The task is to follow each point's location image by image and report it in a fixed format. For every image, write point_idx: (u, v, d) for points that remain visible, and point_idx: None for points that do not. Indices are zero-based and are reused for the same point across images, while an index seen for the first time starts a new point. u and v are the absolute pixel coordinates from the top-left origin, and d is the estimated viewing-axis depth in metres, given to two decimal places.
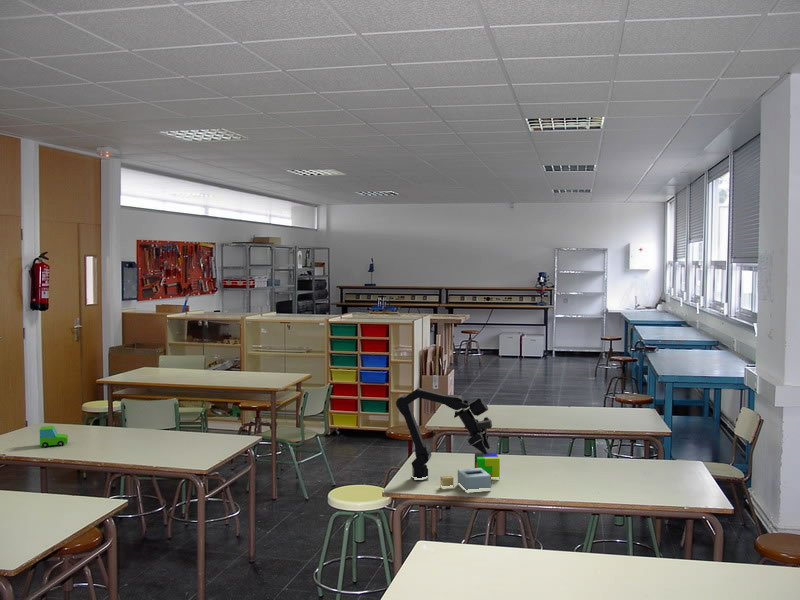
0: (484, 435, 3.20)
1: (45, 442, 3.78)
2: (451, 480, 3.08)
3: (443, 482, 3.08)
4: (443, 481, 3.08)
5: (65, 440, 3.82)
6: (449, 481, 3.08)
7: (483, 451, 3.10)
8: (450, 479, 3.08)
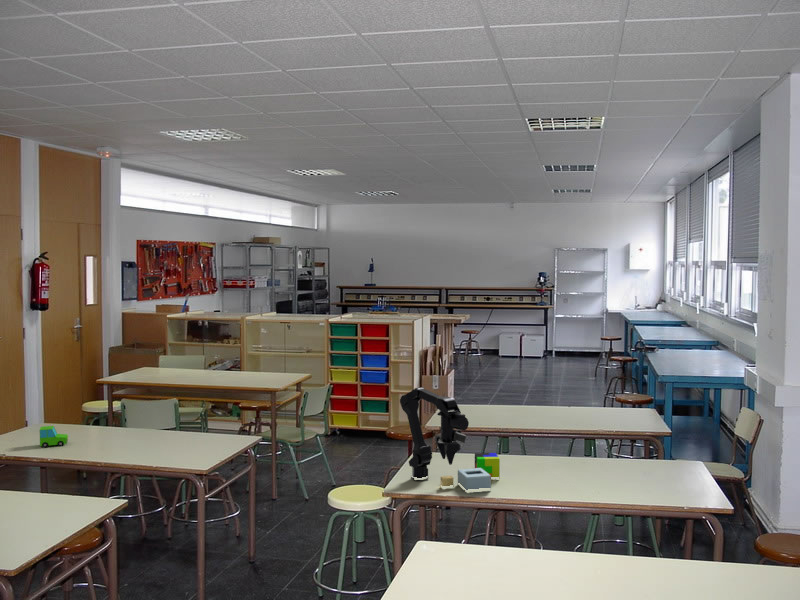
0: None
1: (45, 442, 3.78)
2: (451, 480, 3.08)
3: (443, 482, 3.08)
4: (443, 481, 3.08)
5: (65, 440, 3.82)
6: (449, 481, 3.08)
7: (450, 461, 3.04)
8: (450, 479, 3.08)
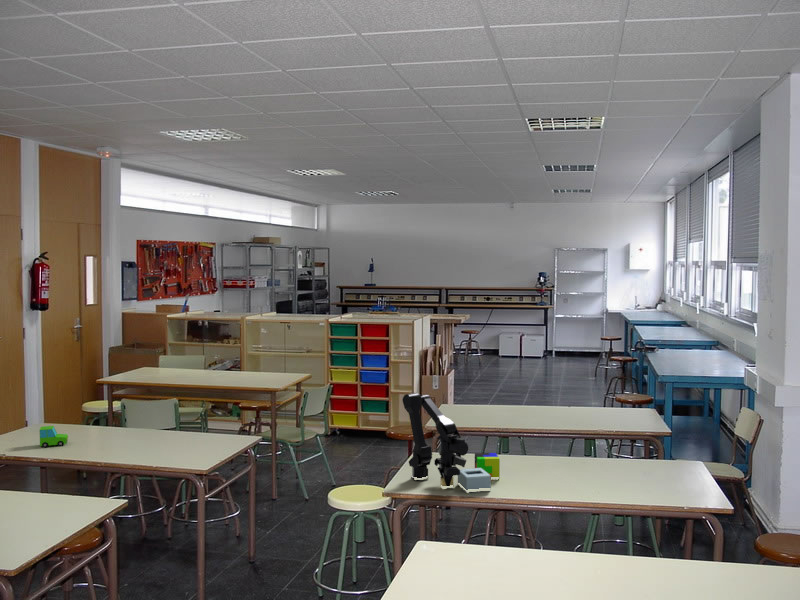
0: None
1: (45, 442, 3.78)
2: (451, 480, 3.08)
3: (443, 482, 3.08)
4: (443, 481, 3.08)
5: (65, 440, 3.82)
6: None
7: (447, 483, 3.07)
8: None
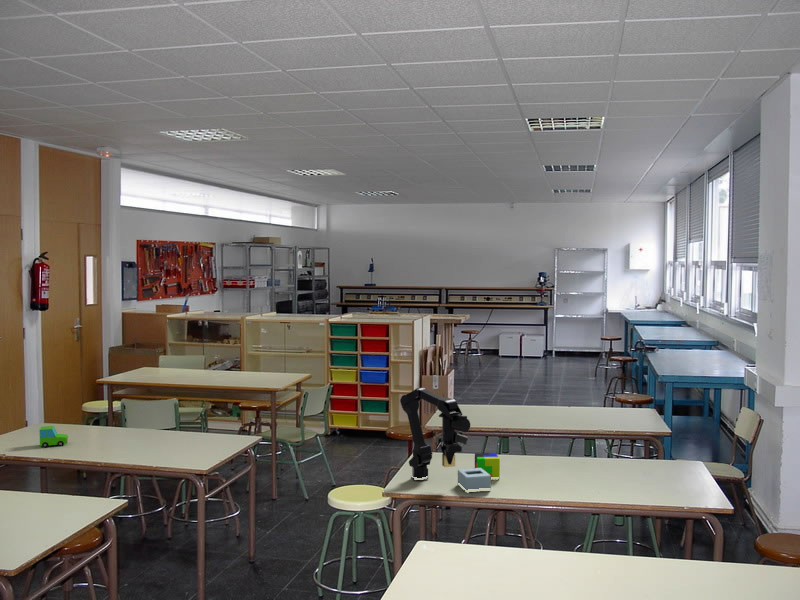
0: None
1: (45, 442, 3.78)
2: None
3: (445, 459, 3.07)
4: (445, 458, 3.07)
5: (65, 440, 3.82)
6: None
7: (449, 461, 3.07)
8: None
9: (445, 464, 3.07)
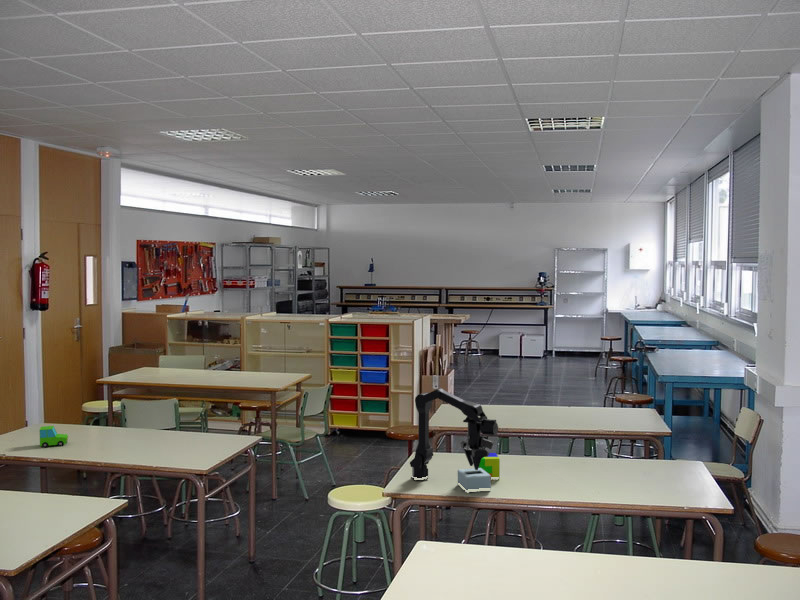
0: None
1: (45, 442, 3.78)
2: None
3: None
4: None
5: (65, 440, 3.82)
6: None
7: (476, 466, 3.05)
8: None
9: None
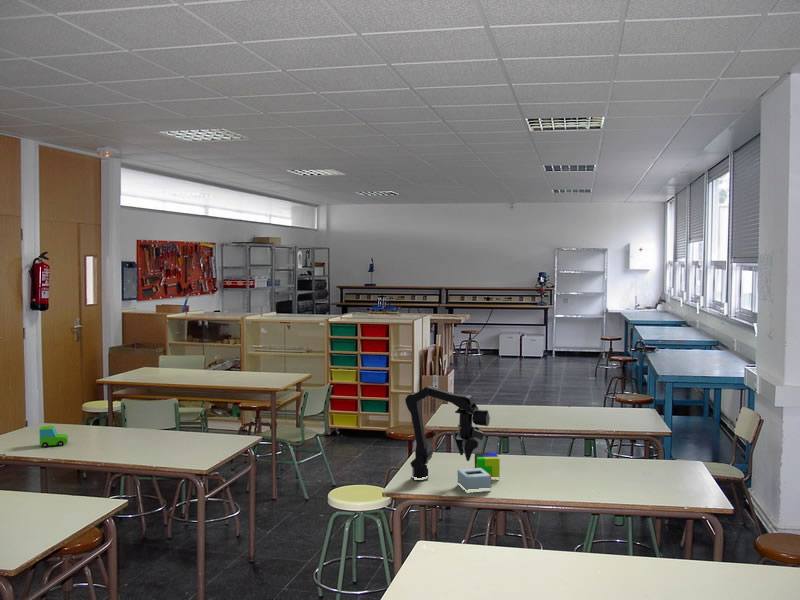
0: None
1: (45, 442, 3.78)
2: None
3: None
4: None
5: (65, 440, 3.82)
6: None
7: (467, 457, 3.09)
8: None
9: None
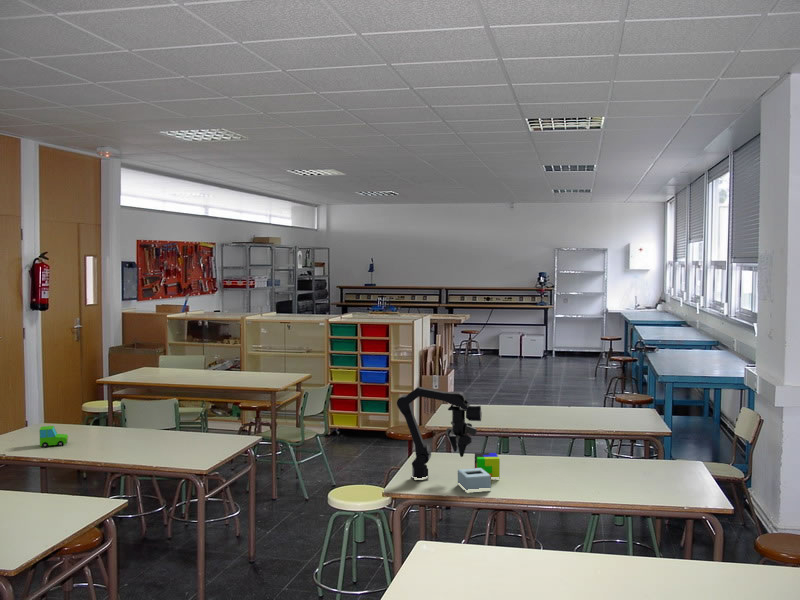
0: None
1: (45, 442, 3.78)
2: None
3: None
4: None
5: (65, 440, 3.82)
6: None
7: (461, 453, 3.14)
8: None
9: None
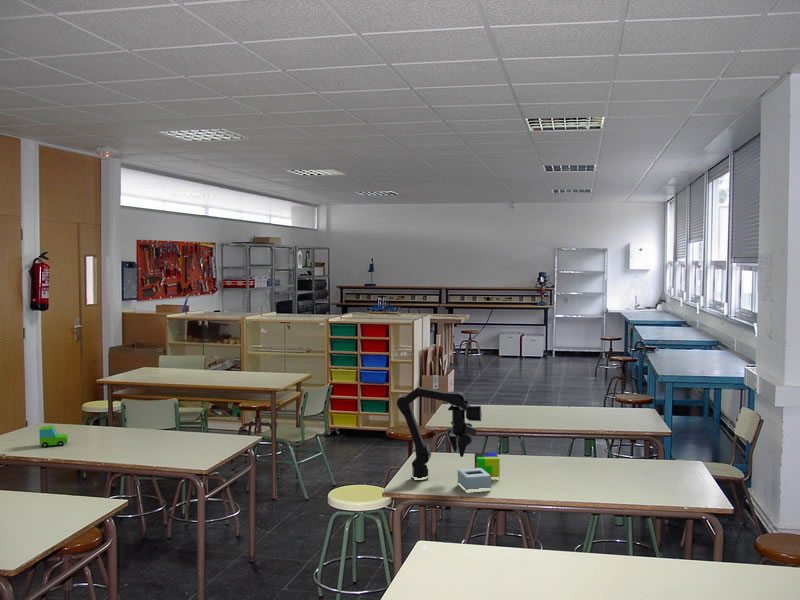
0: None
1: (45, 442, 3.78)
2: None
3: None
4: None
5: (65, 440, 3.82)
6: None
7: (461, 453, 3.14)
8: None
9: None
